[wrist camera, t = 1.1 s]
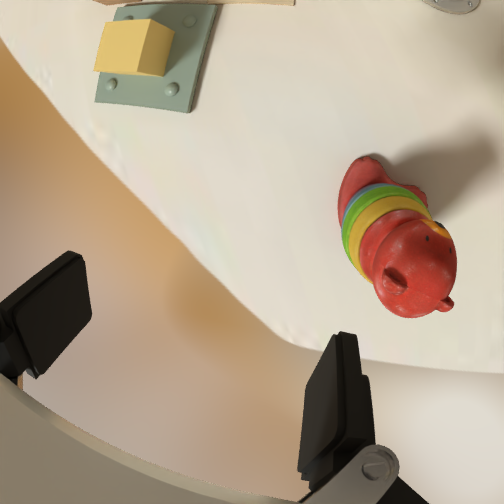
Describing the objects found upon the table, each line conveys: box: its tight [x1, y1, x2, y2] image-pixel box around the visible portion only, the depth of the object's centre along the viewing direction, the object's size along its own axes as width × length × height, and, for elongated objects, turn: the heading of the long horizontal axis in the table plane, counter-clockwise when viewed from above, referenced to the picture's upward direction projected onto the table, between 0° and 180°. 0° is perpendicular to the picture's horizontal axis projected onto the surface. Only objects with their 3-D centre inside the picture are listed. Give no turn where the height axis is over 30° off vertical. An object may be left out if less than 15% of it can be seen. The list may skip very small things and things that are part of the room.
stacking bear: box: [338, 157, 457, 318], centre depth 24 cm, size 11×10×18 cm
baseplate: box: [95, 4, 218, 113], centre depth 28 cm, size 14×14×1 cm
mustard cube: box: [94, 19, 175, 77], centre depth 25 cm, size 6×6×6 cm
